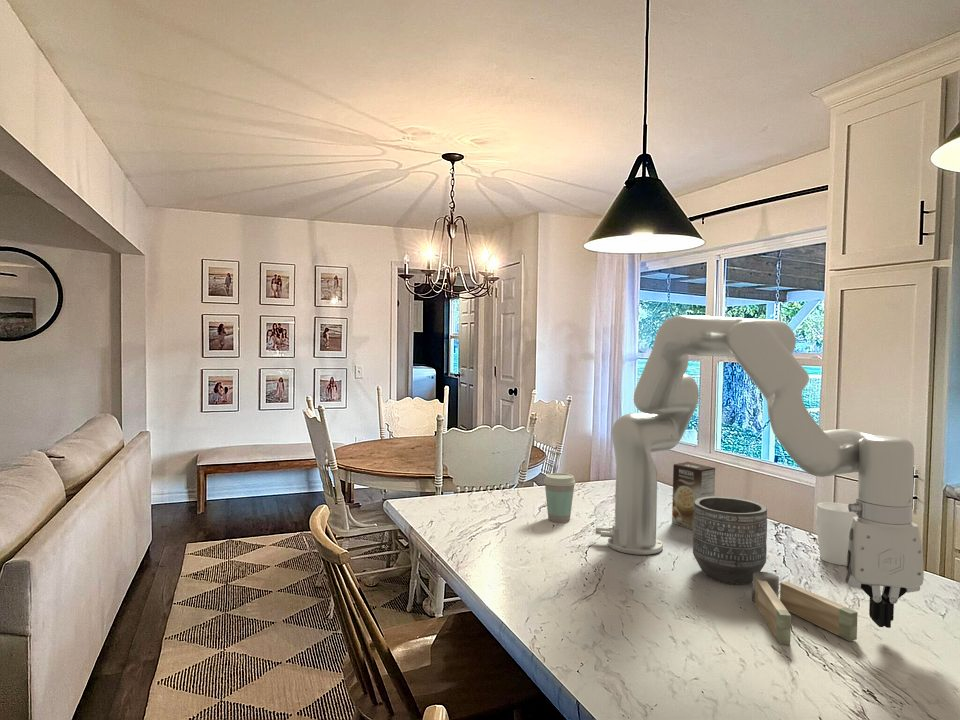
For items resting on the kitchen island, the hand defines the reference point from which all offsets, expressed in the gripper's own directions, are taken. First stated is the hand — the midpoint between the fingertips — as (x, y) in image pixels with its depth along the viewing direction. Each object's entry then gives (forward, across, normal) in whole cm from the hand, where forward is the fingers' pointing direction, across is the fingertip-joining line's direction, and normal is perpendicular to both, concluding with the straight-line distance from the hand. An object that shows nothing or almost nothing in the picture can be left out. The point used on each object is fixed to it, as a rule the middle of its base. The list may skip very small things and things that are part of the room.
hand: (880, 623), depth 103 cm
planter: (+3, -19, +25) cm, 31 cm away
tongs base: (+3, -15, +5) cm, 16 cm away
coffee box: (+3, -21, +61) cm, 64 cm away
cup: (+3, +7, +40) cm, 41 cm away
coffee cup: (+3, -56, +59) cm, 81 cm away
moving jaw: (+2, -8, +4) cm, 10 cm away
